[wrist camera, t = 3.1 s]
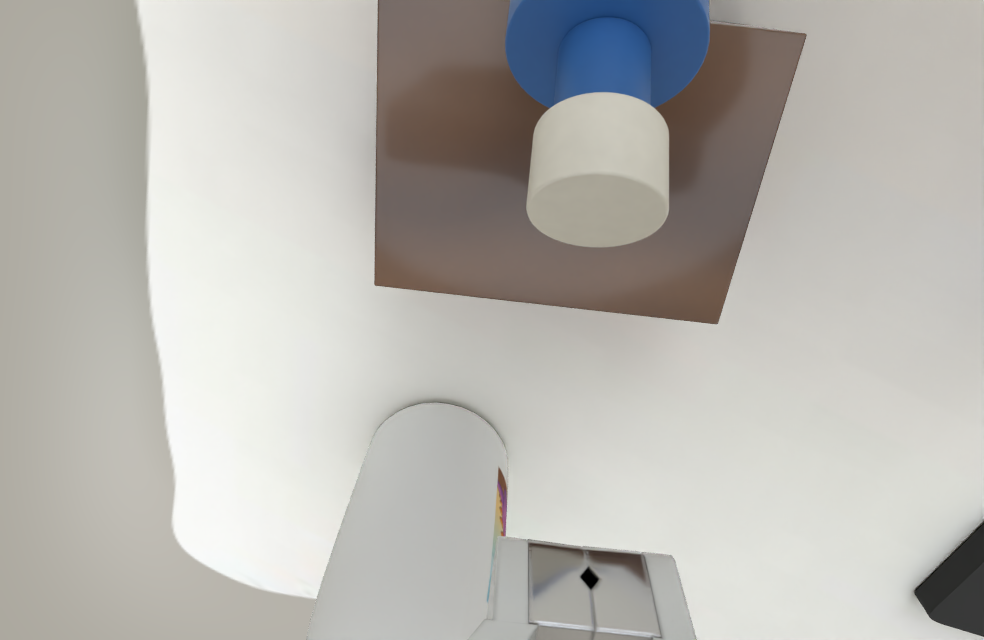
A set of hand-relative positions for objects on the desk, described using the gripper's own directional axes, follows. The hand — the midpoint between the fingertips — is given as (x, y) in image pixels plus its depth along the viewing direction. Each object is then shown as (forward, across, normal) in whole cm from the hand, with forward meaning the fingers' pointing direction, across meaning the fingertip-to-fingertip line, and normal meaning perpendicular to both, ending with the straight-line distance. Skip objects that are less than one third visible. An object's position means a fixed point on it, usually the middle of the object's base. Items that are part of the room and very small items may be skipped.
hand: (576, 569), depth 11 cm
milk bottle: (+20, +4, +14) cm, 25 cm away
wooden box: (+19, 0, -4) cm, 20 cm away
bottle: (+19, 0, -11) cm, 22 cm away
